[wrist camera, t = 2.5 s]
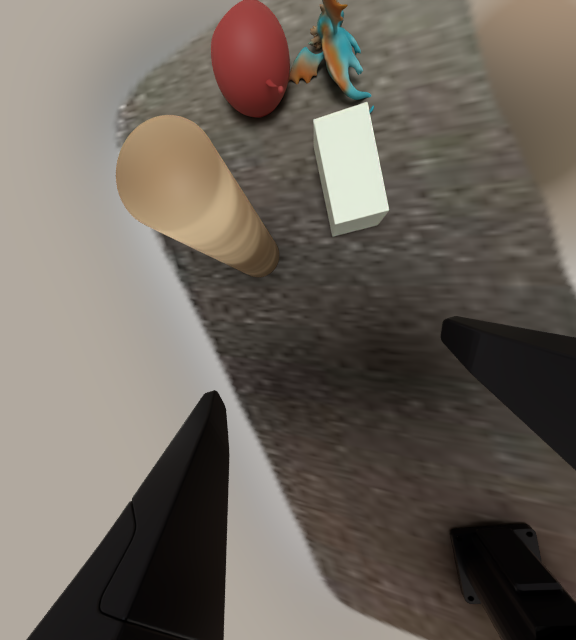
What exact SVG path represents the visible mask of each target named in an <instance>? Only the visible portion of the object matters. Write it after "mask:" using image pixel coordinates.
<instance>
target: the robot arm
mask: <svg viewBox="0 0 576 640" xmlns="http://www.w3.org/2000/svg"><path fill="white" fill-rule="evenodd" d="M441 340H442V342H443V343H444V344H445V345H446V346H447V348H448V349H449V350H450V351H451V352H452V353H453V354H454V355H455V356H456V358H457V359H458V360H459V361H460V362H461V363H462V364H463V365H464V366H465V368H466V369H467V370H468V371H469V372H470V373H471V374H472V375H473V376H474V377H475V378H476V379H477V380H479V381H480V382H481V383H482V384H483V385H484V386H485V387H486V388H487V389H488V390H489V391H490V392H492V393H493V394H494V395H495V396H496V397H497V398H498V399H499V400H500V401H501V402H502V403H503V404H504V405H506V406H507V407H508V408H509V409H510V410H511V411H512V412H513V413H514V414H515V415H516V416H517V417H519V418H520V419H521V420H522V421H523V422H524V423H525V424H526V425H527V426H528V427H529V428H530V429H532V430H533V431H534V432H535V433H536V434H537V435H538V436H539V437H540V438H541V439H542V440H543V441H544V442H546V443H547V444H548V445H549V446H550V447H551V448H552V449H553V450H554V451H555V452H556V453H557V454H559V455H560V456H561V457H562V458H563V459H564V460H565V461H566V462H567V463H568V464H569V465H570V466H572V467H573V468H574V469H575V470H576V337H570V336H565V335H559V334H553V333H548V332H542V331H536V330H531V329H525V328H520V327H514V326H508V325H503V324H497V323H492V322H486V321H480V320H475V319H469V318H463V317H458V316H454V317H450V318H447V319H445V320H444V321H443V324H442V331H441ZM228 479H229V442H228V428H227V415H226V408H225V405H224V403H223V401H222V399H221V397H220V395H219V394H218V392H217V391H215V390H214V391H211V392H207V393H205V394H204V395H203V397H202V398H201V399H200V401H199V402H198V404H197V405H196V406H195V408H194V409H193V411H192V412H191V414H190V415H189V417H188V418H187V419H186V421H185V422H184V424H183V425H182V427H181V428H180V430H179V431H178V433H177V434H176V435H175V437H174V438H173V440H172V441H171V443H170V444H169V446H168V447H167V448H166V450H165V451H164V453H163V454H162V456H161V457H160V458H159V460H158V461H157V463H156V464H155V466H154V467H153V469H152V470H151V472H150V473H149V474H148V476H147V477H146V479H145V480H144V482H143V483H142V485H141V486H140V487H139V489H138V490H137V492H136V493H135V495H134V496H133V498H132V501H130V502H129V503H128V505H127V506H126V508H125V509H124V510H123V512H122V513H121V515H120V516H119V518H118V519H117V520H116V522H115V523H114V525H113V526H112V527H111V529H110V530H109V532H108V533H107V535H106V536H105V537H104V539H103V540H102V541H101V543H100V544H99V546H98V547H97V548H96V550H95V551H94V552H93V554H92V555H91V556H90V558H89V559H88V560H87V562H86V563H85V564H84V566H83V567H82V568H81V569H80V571H79V572H78V574H77V575H76V576H75V578H74V579H73V580H72V581H71V583H70V584H69V585H68V586H67V588H66V589H65V590H64V592H63V593H62V594H61V596H60V597H59V598H58V599H57V601H56V602H55V603H54V605H53V606H52V607H51V608H50V610H49V611H48V612H47V614H46V615H45V616H44V618H43V619H42V620H41V621H40V623H39V624H38V625H37V627H36V628H35V630H34V631H33V632H32V633H31V634H30V636H29V637H28V639H27V640H223V639H224V607H225V575H226V545H227V515H228V513H227V512H228V483H229V482H228V481H229V480H228ZM450 536H451V541H452V546H453V551H454V556H455V561H456V566H457V571H458V576H459V581H460V586H461V591H462V594H463V596H464V598H465V600H466V602H467V603H469V604H482V605H483V607H484V609H485V611H486V613H487V614H488V616H489V618H490V620H491V621H492V623H493V625H494V627H495V629H496V630H497V632H498V634H499V636H500V638H501V639H502V640H576V602H575V601H574V600H573V599H572V597H571V596H570V595H569V594H568V593H567V592H566V591H565V589H564V588H563V587H562V586H561V584H560V583H559V582H558V581H557V579H556V578H555V577H554V576H553V575H552V574H551V573H550V572H549V570H548V569H547V568H546V567H545V566H544V565H543V564H542V562H541V557H540V551H539V546H538V541H537V536H536V532H535V531H534V530H533V529H532V528H531V527H530V526H529V525H527V524H518V525H504V526H490V527H476V528H462V529H453V530H452V531H451V532H450ZM457 536H458V537H457Z"/></svg>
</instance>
